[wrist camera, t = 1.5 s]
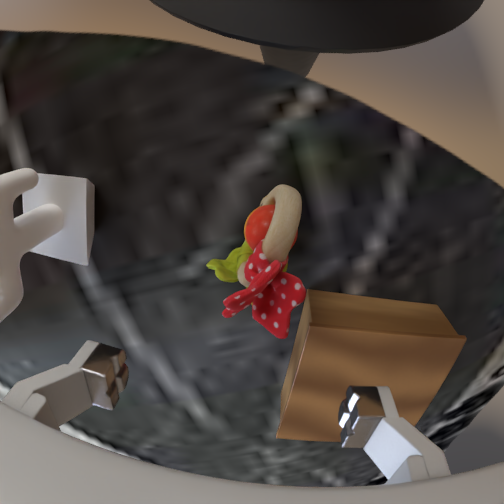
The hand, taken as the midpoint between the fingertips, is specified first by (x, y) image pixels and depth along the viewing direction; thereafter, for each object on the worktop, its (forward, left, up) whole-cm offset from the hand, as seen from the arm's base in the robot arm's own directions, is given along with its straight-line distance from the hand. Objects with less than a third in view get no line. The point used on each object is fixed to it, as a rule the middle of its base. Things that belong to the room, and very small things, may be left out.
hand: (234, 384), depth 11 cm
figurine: (0, -17, -16) cm, 24 cm away
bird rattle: (0, 0, -16) cm, 16 cm away
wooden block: (+11, +11, -16) cm, 22 cm away
